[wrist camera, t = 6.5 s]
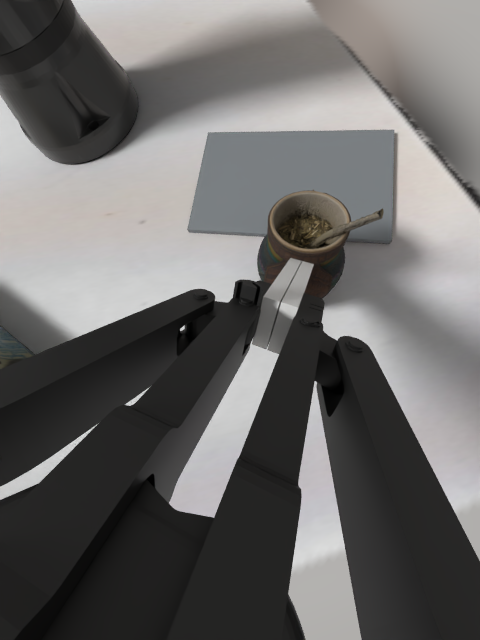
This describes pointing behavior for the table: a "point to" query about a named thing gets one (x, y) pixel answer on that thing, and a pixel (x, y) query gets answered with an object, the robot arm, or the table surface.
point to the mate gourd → (309, 238)
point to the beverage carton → (11, 350)
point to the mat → (293, 178)
